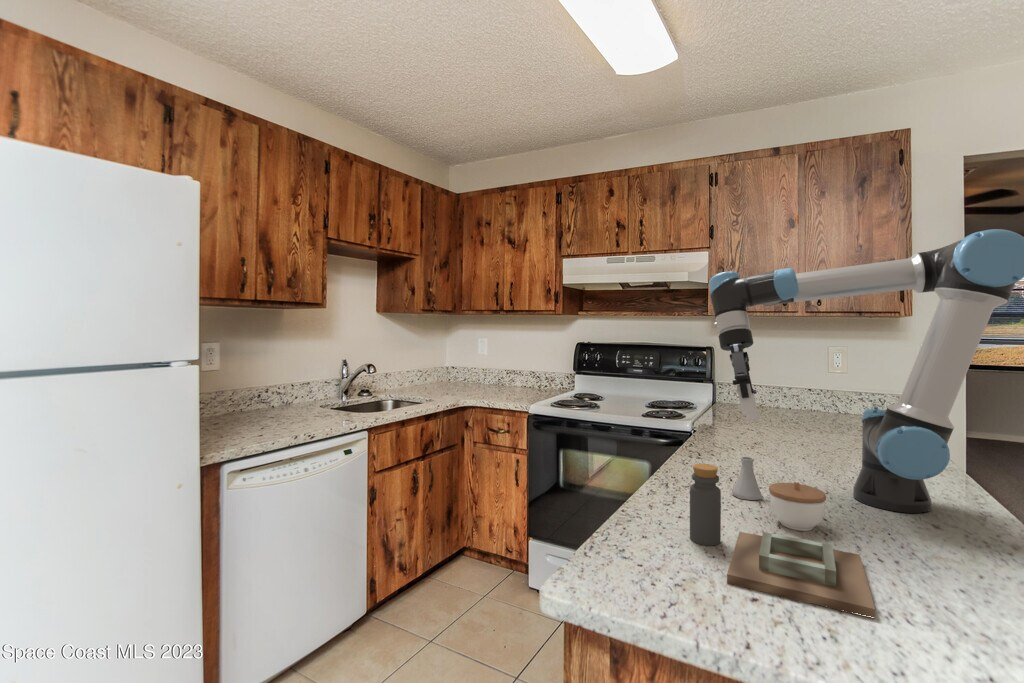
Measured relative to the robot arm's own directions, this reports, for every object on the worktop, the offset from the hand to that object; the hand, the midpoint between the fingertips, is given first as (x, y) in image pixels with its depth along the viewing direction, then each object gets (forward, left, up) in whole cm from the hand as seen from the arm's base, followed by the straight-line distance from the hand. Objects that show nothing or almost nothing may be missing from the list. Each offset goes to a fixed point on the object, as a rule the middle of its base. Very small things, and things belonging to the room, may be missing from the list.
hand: (751, 417), depth 113 cm
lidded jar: (-9, +4, -22) cm, 25 cm away
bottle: (+7, +22, -22) cm, 32 cm away
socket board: (-9, +28, -22) cm, 37 cm away
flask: (+2, -11, -22) cm, 25 cm away
